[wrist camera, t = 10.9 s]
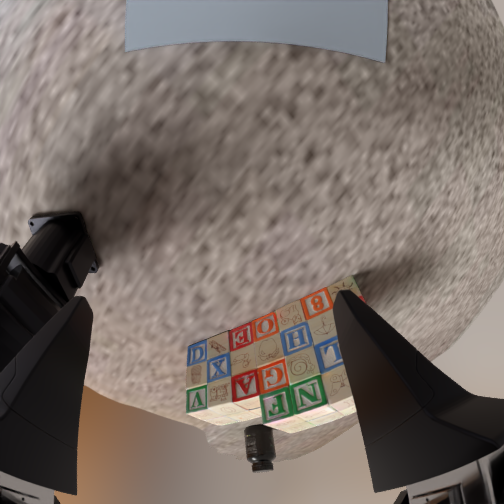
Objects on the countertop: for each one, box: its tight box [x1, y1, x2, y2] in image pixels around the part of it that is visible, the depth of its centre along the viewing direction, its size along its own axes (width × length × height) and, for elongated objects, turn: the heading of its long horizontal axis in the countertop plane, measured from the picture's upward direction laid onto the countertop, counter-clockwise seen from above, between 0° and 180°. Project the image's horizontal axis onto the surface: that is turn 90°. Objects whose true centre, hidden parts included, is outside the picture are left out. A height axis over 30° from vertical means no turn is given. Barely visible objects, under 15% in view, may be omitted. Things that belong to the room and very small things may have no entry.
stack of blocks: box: [186, 276, 366, 433], centre depth 27 cm, size 21×6×12 cm, turn 120°
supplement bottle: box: [244, 425, 276, 472], centre depth 53 cm, size 7×7×12 cm
